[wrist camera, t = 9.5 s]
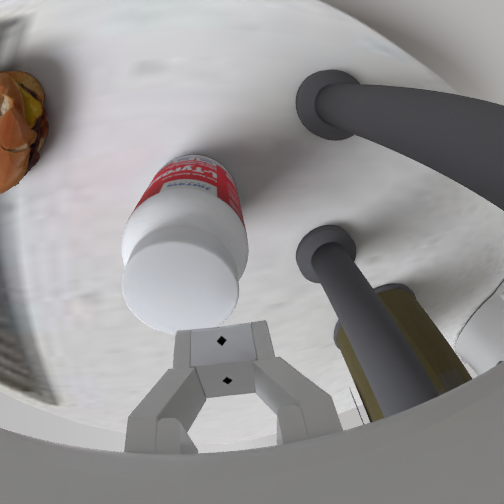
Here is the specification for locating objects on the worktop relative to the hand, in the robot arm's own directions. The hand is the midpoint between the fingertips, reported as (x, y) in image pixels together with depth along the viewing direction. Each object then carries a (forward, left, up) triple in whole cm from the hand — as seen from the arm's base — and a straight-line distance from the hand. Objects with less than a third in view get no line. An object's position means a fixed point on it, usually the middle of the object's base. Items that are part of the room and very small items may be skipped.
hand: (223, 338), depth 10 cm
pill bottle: (+2, -1, -13) cm, 13 cm away
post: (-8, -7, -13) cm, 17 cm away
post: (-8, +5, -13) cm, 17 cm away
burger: (+16, -9, -13) cm, 23 cm away
